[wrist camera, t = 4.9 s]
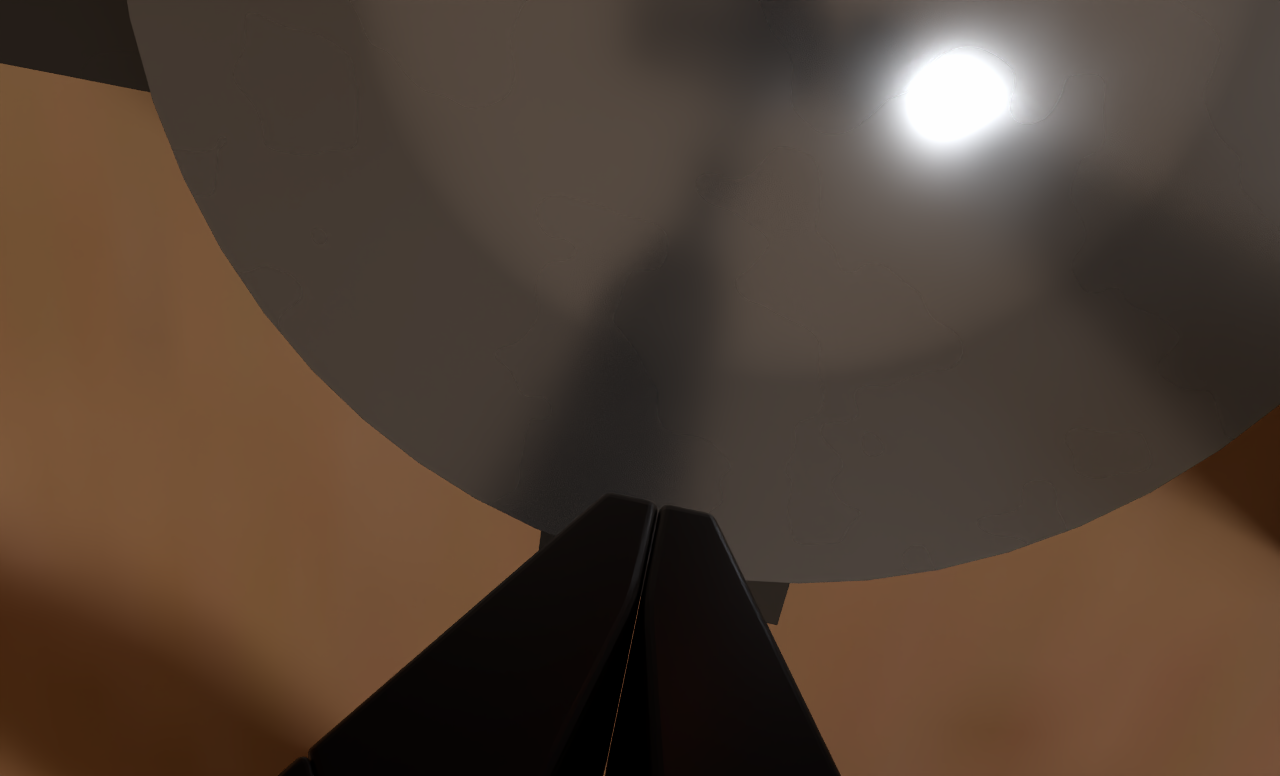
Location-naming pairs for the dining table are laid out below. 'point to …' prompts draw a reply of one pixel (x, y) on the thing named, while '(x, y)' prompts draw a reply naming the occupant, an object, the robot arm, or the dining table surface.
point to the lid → (758, 248)
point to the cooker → (108, 53)
